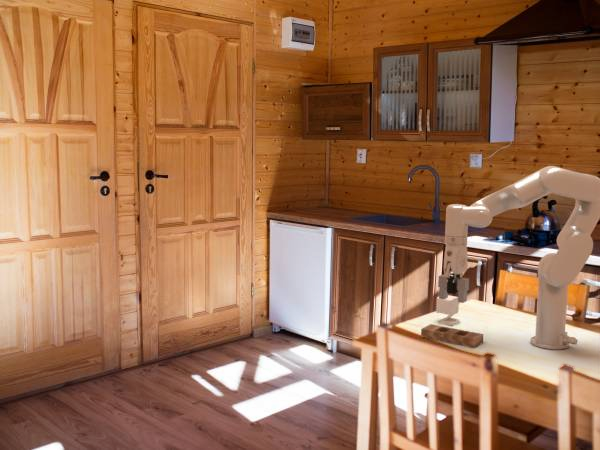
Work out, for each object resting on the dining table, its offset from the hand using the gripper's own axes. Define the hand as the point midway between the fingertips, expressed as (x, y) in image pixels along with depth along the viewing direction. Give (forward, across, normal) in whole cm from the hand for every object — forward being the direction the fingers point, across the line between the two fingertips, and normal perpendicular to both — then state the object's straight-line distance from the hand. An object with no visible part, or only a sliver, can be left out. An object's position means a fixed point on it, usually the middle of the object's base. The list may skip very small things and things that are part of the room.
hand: (453, 291), depth 241 cm
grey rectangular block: (+3, 0, 0) cm, 3 cm away
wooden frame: (+17, 0, 0) cm, 17 cm away
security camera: (+17, +19, +10) cm, 27 cm away
